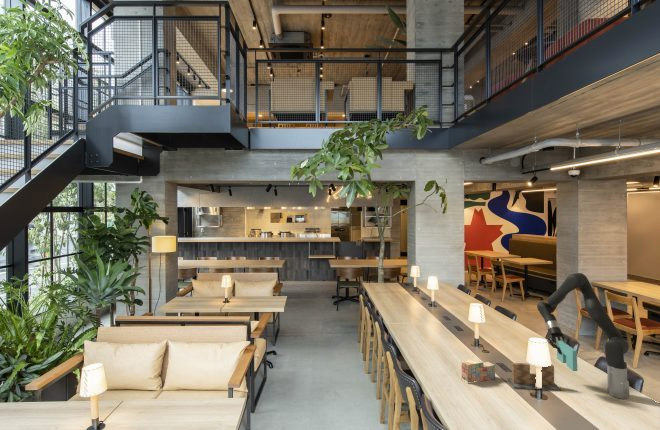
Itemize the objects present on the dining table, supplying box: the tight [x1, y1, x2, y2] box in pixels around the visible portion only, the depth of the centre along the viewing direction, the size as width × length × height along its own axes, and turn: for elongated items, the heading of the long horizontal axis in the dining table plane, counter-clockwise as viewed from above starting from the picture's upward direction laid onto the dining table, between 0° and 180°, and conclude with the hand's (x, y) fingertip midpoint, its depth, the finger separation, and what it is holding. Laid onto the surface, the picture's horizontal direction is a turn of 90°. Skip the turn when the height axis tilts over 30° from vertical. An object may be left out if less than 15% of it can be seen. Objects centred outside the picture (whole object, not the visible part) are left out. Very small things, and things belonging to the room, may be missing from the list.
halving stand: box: [506, 362, 561, 392], centre depth 231 cm, size 27×12×13 cm, turn 82°
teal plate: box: [556, 340, 578, 372], centre depth 228 cm, size 20×2×12 cm, turn 172°
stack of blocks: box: [461, 358, 496, 382], centre depth 240 cm, size 21×6×12 cm, turn 107°
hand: (563, 353), depth 232 cm, fingers closed on teal plate, 2 cm apart
